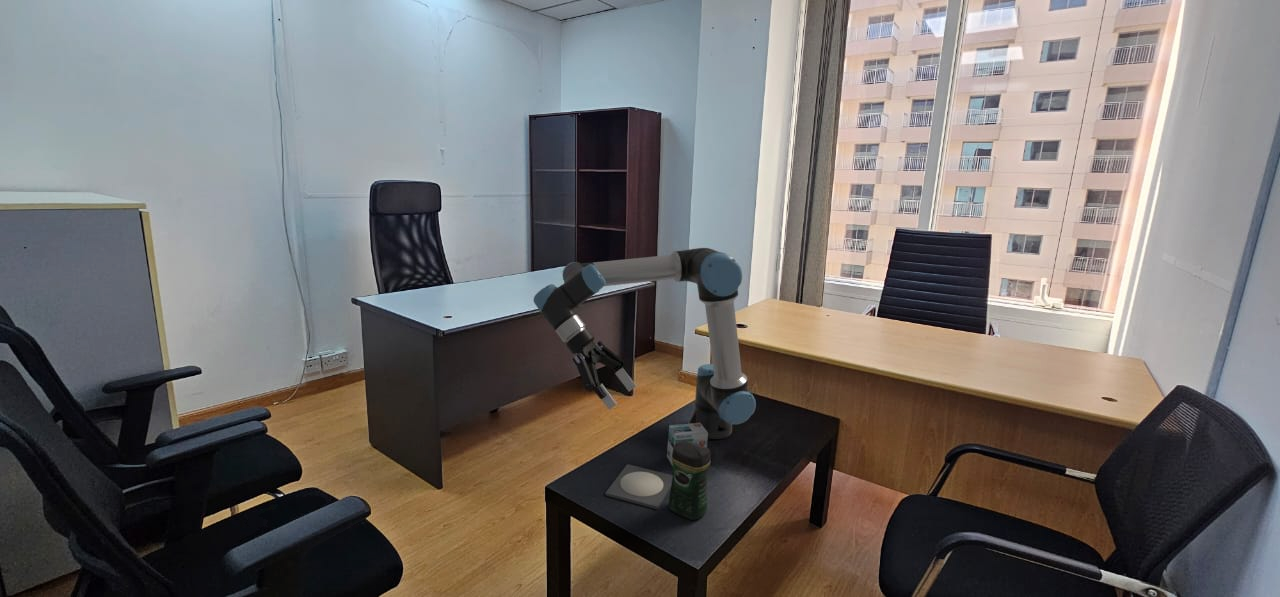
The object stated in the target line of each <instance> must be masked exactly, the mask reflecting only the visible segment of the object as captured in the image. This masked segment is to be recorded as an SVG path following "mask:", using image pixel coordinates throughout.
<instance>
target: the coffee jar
mask: <svg viewBox="0 0 1280 597" xmlns="http://www.w3.org/2000/svg"><path fill="white" fill-rule="evenodd" d="M672 462H673V466H672V475H673V477H672V484H671V488H670V490H669V492H670V493H669V498H668V509H670V511H672V512H673V513H674V514H676V515H678V516H680V517H683V518H685V519H687V520H689V521H693V520H694V521H695V520H698V519H700V518H702V517H703V516H704V515H705V514H706V513H707V509H708V508H707V507H708V496H707V495H708V489H707V488H708V487H707V483H708V482H707V480H708V479H707V478H708V477H707V476H708V469H709V468H710V465H711V463H712V462H711V450H710V449H709V447H707V448H706V447H704V446H701V445H699V444H696V443H693V442H691V441H687V440H685V439H683V440H681V441H679V442H677V443H676V444H675V445H674V448H673V453H672Z"/></svg>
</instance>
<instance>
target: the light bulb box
mask: <svg viewBox="0 0 1280 597" xmlns="http://www.w3.org/2000/svg"><path fill="white" fill-rule="evenodd" d="M683 439H685V440H687V441H691V442H693V443H696V444H699V445H701V446H704V447H706V448H708V432H707V431H706V429H705V428H704V427H703V426H702V424H701V423H692V424H688V423H683V424H681V423H679V424H670V425H669V427H668V436H667V452H666V453H667V454H666V458H667V459H668V460H669V463H670V465H671V466H672V467H673V462H672V453H673V448H674V445H675V444H676V443H677V442H679V441H681V440H683Z"/></svg>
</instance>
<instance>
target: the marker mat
mask: <svg viewBox="0 0 1280 597" xmlns="http://www.w3.org/2000/svg"><path fill="white" fill-rule="evenodd" d="M672 477H673V474H668V473H666V472H660V471H657V470H652V469H648V468H645V467H640V466H636V465H632V464H626V465H625V467H624V468H623V469H622V470H621V472H620V473H619V474H618V476H617V477H616V478H615V480H614V481H612V484H610V486H609V488H608V489H607V490H606V491H605V496H606V497H610V498H615V499H617V500H621V501H626V502H628V503H629V502H630V503H632V504H637V505H641V506H644V507H648V508H650V509H651V508H652V509H655V510H659V509H660V507H661V505H662V504H663V502H664V500H665V498H666V497H667V494H668V493H669V492H670V490H671V484H672Z"/></svg>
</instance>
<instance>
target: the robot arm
mask: <svg viewBox="0 0 1280 597" xmlns="http://www.w3.org/2000/svg"><path fill="white" fill-rule="evenodd" d="M562 280H563V282H564V283H562V284H560V285H559V286H558V287H557V286H556V285H555V284H553V283H551V284H548V285H546V286H545V287H543V288H542V289H540V290H539V291H538V292H537V293H536V294H534V296H533V304H534V305H535V307H536V308H537V309H538V311H539V312H540V314H541V315H542V317H544V319H545V320H546V321H547V323H548V324H549V325H550V326H551V328H552V329H553V330H554V331H555V333H556V334H557V335H558V337H560V339H561V340H562V342H563V343H565V347H567V349H569V351H570V352H571V354H572V355H575V356H574V357H572V361H573V363H574V364H575V366H576V368H577V371H578V373H579V377H580V378H581V381H582V383H583V386H584V388H585V390H586V391H588V392H591V393H592V392H593V391H594V393H595V394H596V395H597V396H598V398H599V399H600V400H601V402H602V403H603V404H604V406H605V407H606V409H608V410H611V409H613V408H614V407H615V406H616V405H617V404H618V403H617V400H615V399H614V398H613V396H612V395H611V393H610V392H609V391H608V389H607V388H606V387H605V385H604V384H603V383H600V380H599V377H598V376H599V375H598V372H597V367H596V364H599V363H600V364H602V365H603V366H606V367H607V368H609V369H611V370H612V371H615V373H614V374H615V375H616V377H617V378H618V379H619V381H620V382H621V383H622V384H623V385H624V387H625V388H626V390H627V391H628V392H631V391H632V390H633V389H635V388H636V387H637V384H636V382H634V380H633V379H632V377H630V375H629V374H628V372H626V370H625V369H624V367H625V366H626V364H625V362H624V360H623V359H622V358H621V357H619V356H618V355H617V354H616V353H615V352H613V351H612V350H611V349H610V348H608V347H607V346H606V345H605V344H603V342H602V341H601V340H599V341H597V342H596V343H595V342H594V340H595V336H594V334H593V333H592V332H591V330H590V329H589V328H586V323H585V322H584V321H583V320H582V319H581V317H580V316H579V315H578V314H577V312H576V311H575V309H577V308H578V307H579V306H581V305H582V304H583V303H585V302H586V301H587V300H589V299H590V298H592V297H593V296H595V295H596V294H597V293H599V292H600V290H602V289H603V287H610V286H621V285H630V284H637V283H645V282H647V283H649V282H658V281H667V280H673V281H675V282H676V283H677V282H678V283H679V282H689V283H693V284H696V285H697V291H698V292H697V293H698V299H699V302H700V301H701V302H702V303H703V304H704V305H705V306H704V307H705V314H706V322H707V330H708V331H707V332H708V337H709V345H710V346H709V347H710V352H711V360H712V363H709V364H708V363H705V364H703V365H700V366H699V367H698V368H697V373H696V387H695V400H694V407H693V410H692V412H691V413H690V416H689V419H688V423H687V424H692V423H701V424H702V426H703V427H704V428H705V429H706V431H707V432H708V438H707V440H720V439H721V440H722V439H726V438H729V436H731V434H732V432H733V425H740V424H744V423H745V422H746V421H747V420H749V419H750V417H751V416H752V415H753V414H754V413H755V410H756V407H757V403H756V399H755V396H754V395H753V393H751V392H750V390H749V381H748V376H747V375H746V374H745V373H744V372H742V371H743V370H742V364H741V355H740V346H739V337H738V328H737V318H736V310H735V309H736V308H735V300H736V299H737V297H738V296H739V287H740V286H741V284H742V280H743V271H742V268H741V265H740V263H739V262H738V261H737V260H736V259H735V258H734V257H732V256H731V255H729V254H727V253H725V252H721V251H718V250H715V249H712V248H709V247H699V248H691V249H682V250H675V251H673V252H671V254H669V255H657V256H647V257H636V258H628V259H627V258H626V259H617V260H616V259H615V260H607V261H606V260H604V261H596V262H594V261H593V262H585V263H584V262H583V263H581V262H579V261H577V262H575V261H573V262H570V263H568V264H567V265H565V266H564V268H563V270H562Z"/></svg>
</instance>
